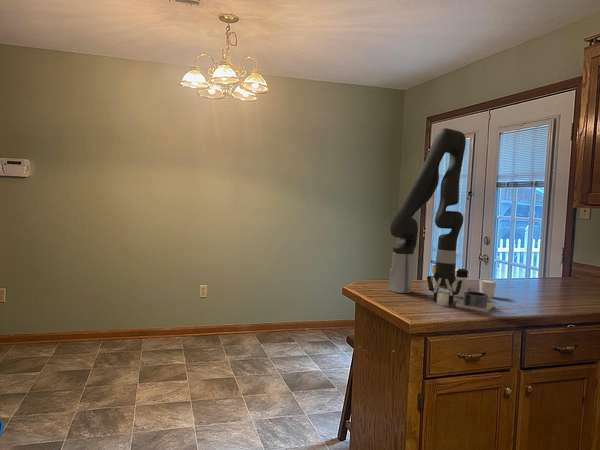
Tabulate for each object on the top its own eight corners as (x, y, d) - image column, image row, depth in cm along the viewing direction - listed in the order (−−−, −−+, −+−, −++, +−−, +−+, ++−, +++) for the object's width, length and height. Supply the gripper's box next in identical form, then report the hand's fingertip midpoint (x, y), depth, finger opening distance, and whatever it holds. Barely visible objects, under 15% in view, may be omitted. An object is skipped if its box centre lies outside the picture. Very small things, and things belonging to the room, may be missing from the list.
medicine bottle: (467, 295, 202) (469, 268, 201) (467, 298, 195) (469, 271, 194) (450, 293, 204) (452, 267, 204) (450, 296, 198) (452, 269, 197)
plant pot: (427, 283, 225) (428, 264, 224) (447, 284, 226) (448, 264, 226) (435, 288, 215) (437, 267, 214) (456, 288, 216) (458, 268, 215)
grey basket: (455, 306, 179) (456, 293, 179) (462, 301, 189) (463, 289, 189) (488, 312, 173) (489, 298, 172) (493, 306, 183) (494, 293, 183)
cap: (434, 304, 181) (435, 292, 181) (438, 302, 185) (439, 290, 185) (447, 306, 178) (448, 294, 178) (450, 304, 183) (451, 292, 182)
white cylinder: (496, 299, 197) (497, 283, 197) (479, 297, 199) (480, 281, 198) (492, 295, 204) (494, 280, 203) (476, 294, 205) (478, 279, 205)
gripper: (466, 262, 180) (463, 304, 181) (430, 258, 188) (427, 298, 189) (462, 264, 174) (459, 308, 175) (425, 259, 181) (422, 301, 182)
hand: (442, 303), depth 182 cm, fingers closed on cap, 5 cm apart
